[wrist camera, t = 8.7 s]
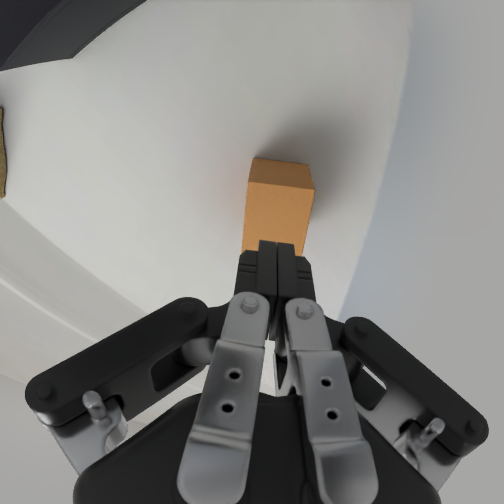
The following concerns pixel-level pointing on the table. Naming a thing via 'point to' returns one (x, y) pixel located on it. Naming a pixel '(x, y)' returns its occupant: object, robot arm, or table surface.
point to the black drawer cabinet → (53, 28)
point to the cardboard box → (277, 204)
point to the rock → (2, 161)
